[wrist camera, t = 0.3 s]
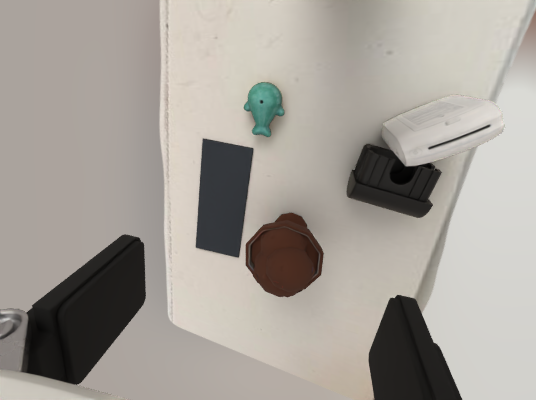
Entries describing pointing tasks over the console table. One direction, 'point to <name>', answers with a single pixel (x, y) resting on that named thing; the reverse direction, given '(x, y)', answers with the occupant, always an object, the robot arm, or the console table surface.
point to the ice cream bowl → (284, 256)
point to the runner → (222, 196)
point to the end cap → (392, 182)
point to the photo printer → (442, 129)
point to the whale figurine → (264, 106)
